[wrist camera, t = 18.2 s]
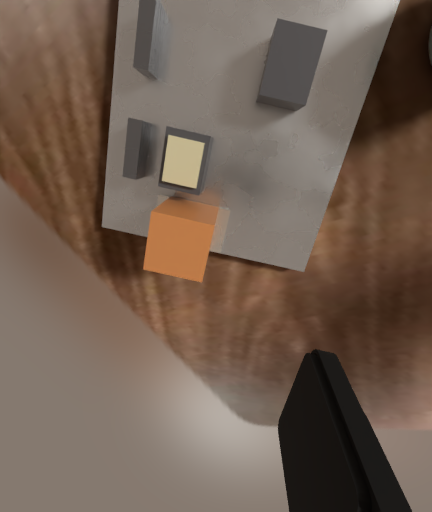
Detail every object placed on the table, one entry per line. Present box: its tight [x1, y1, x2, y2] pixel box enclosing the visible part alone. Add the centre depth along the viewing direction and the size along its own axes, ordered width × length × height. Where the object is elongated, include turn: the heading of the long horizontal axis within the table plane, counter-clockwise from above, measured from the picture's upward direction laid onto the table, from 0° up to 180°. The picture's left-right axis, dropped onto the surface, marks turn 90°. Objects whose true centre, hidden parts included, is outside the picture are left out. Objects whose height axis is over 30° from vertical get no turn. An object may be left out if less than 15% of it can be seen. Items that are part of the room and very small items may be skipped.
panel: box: [102, 0, 400, 272], centre depth 21 cm, size 18×20×4 cm
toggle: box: [256, 18, 328, 111], centre depth 19 cm, size 3×4×3 cm
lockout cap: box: [143, 196, 219, 282], centre depth 21 cm, size 4×4×6 cm
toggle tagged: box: [158, 126, 214, 196], centre depth 21 cm, size 3×4×3 cm
